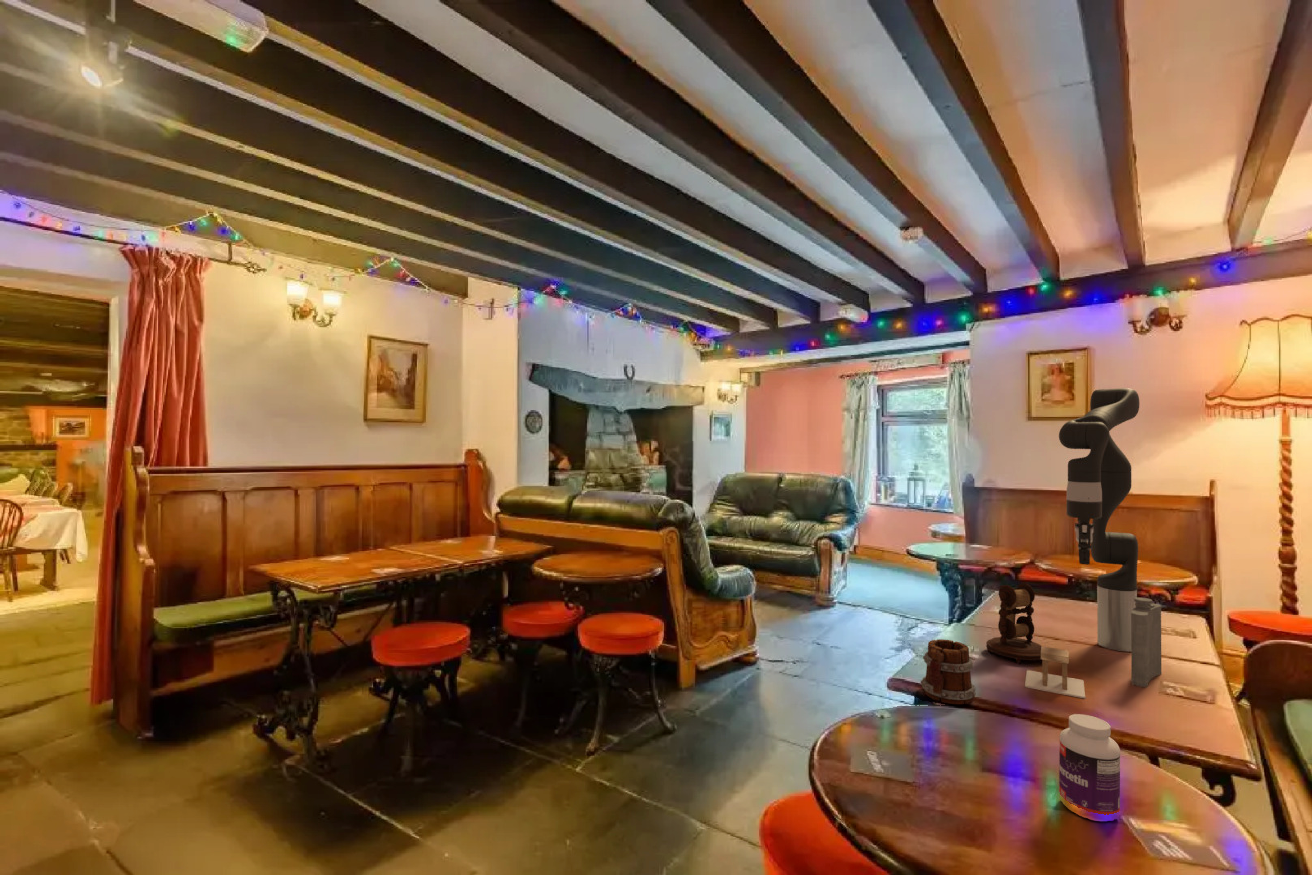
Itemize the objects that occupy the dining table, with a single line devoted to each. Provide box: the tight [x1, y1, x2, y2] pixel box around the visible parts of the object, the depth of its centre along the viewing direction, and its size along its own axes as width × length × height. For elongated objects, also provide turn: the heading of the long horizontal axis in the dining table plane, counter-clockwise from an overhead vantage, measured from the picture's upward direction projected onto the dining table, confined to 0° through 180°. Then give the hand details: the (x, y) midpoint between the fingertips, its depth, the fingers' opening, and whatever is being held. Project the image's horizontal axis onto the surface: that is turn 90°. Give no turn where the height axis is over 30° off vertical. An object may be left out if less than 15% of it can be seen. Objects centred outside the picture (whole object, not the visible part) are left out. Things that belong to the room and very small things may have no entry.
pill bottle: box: [1058, 713, 1121, 815], centre depth 98 cm, size 8×8×14 cm
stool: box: [1041, 645, 1070, 690], centre depth 148 cm, size 6×6×8 cm
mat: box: [1024, 669, 1086, 700], centre depth 149 cm, size 12×12×1 cm
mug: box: [920, 638, 977, 705], centre depth 142 cm, size 12×14×15 cm
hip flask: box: [1130, 596, 1162, 688], centre depth 154 cm, size 16×4×20 cm, turn 129°
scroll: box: [985, 582, 1042, 665], centre depth 169 cm, size 15×15×20 cm
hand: (1084, 560), depth 158 cm, fingers open, 8 cm apart
